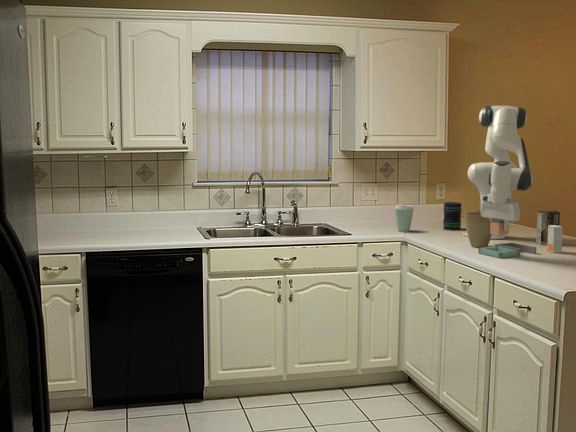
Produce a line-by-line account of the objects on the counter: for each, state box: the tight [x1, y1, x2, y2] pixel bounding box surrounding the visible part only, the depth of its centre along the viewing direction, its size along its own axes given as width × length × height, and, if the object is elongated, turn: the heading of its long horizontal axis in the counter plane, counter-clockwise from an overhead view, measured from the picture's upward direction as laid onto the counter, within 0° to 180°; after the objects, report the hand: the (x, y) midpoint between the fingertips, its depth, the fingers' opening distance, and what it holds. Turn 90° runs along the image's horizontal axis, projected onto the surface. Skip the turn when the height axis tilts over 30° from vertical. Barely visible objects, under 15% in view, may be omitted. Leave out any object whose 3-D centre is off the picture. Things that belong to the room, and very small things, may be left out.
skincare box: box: [546, 225, 564, 254], centre depth 304 cm, size 6×4×12 cm
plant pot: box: [463, 211, 496, 249], centre depth 318 cm, size 15×15×16 cm
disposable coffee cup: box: [394, 203, 415, 233], centre depth 370 cm, size 11×11×15 cm
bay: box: [493, 242, 537, 257], centre depth 304 cm, size 15×11×3 cm
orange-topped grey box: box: [490, 220, 510, 236], centre depth 295 cm, size 5×6×6 cm
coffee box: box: [535, 210, 561, 246], centre depth 327 cm, size 9×6×16 cm
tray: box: [478, 246, 519, 259], centre depth 297 cm, size 13×11×2 cm
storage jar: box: [442, 201, 462, 232], centre depth 378 cm, size 10×10×15 cm
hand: (499, 229), depth 296 cm, fingers closed on orange-topped grey box, 5 cm apart
